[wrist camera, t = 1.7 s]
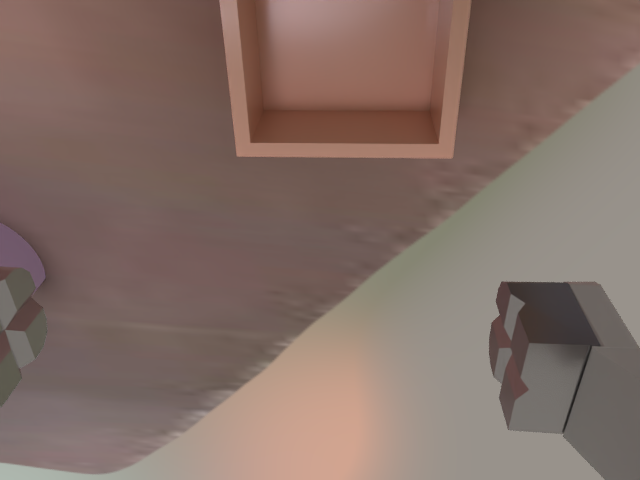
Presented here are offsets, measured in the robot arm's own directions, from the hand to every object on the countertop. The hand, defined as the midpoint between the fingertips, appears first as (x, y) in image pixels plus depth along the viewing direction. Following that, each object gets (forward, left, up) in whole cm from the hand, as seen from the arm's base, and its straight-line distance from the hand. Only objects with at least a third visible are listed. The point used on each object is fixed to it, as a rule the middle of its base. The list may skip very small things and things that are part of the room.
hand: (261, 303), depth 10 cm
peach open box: (0, +1, -21) cm, 21 cm away
